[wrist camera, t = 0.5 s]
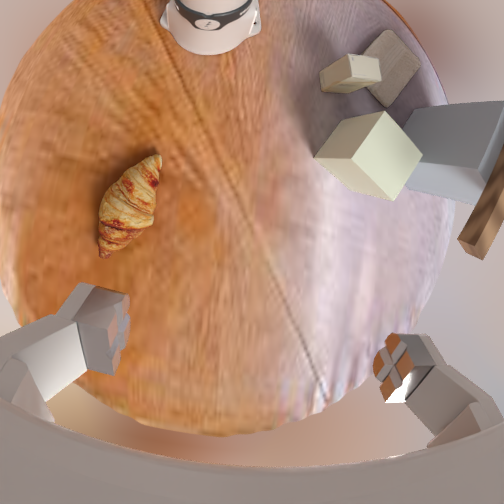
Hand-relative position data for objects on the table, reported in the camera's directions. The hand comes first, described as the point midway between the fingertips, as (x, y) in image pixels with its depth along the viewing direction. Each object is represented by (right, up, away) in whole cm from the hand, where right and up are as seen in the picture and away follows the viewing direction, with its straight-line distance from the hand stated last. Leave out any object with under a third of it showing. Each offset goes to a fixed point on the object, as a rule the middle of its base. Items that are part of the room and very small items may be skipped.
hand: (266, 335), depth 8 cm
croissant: (-22, +11, +42) cm, 49 cm away
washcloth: (+28, +42, +41) cm, 65 cm away
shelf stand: (+35, +25, +47) cm, 64 cm away
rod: (+36, +14, +23) cm, 45 cm away
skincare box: (+15, +35, +41) cm, 56 cm away
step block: (+18, +21, +45) cm, 53 cm away
